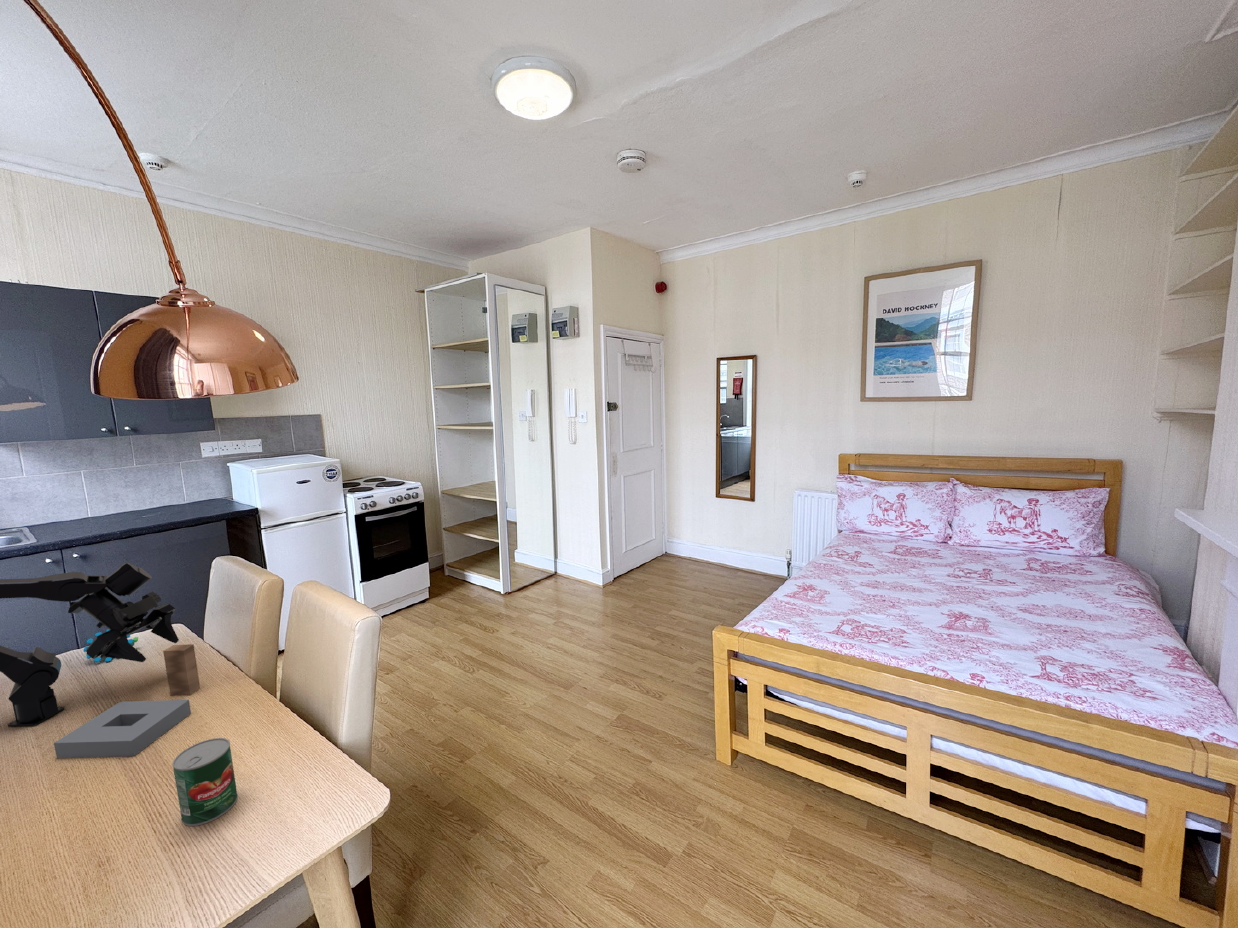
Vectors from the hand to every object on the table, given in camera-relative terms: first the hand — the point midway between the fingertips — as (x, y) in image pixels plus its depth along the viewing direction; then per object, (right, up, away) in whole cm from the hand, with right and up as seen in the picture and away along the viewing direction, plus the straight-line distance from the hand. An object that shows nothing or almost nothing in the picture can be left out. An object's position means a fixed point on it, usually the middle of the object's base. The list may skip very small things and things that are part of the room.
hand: (161, 650), depth 124 cm
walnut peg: (+5, -11, +1) cm, 12 cm away
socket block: (+6, -13, -14) cm, 20 cm away
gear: (-33, -10, +20) cm, 39 cm away
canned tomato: (+41, -15, -35) cm, 56 cm away
